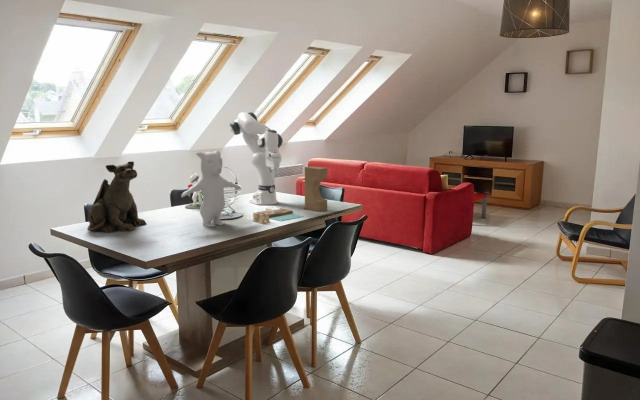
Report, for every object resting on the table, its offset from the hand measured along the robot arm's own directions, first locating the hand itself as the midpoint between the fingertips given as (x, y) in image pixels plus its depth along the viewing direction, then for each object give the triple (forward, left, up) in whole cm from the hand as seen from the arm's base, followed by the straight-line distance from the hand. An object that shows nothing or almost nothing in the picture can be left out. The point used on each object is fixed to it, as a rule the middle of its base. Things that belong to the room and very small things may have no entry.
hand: (272, 173), depth 350 cm
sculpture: (-24, -98, -27) cm, 105 cm away
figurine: (-51, -30, -27) cm, 65 cm away
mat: (+22, -6, -26) cm, 35 cm away
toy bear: (+8, -52, -26) cm, 59 cm away
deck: (+9, -6, -26) cm, 28 cm away
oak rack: (+21, -26, -26) cm, 43 cm away
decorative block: (+16, +26, -26) cm, 40 cm away
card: (+8, -6, -24) cm, 26 cm away
